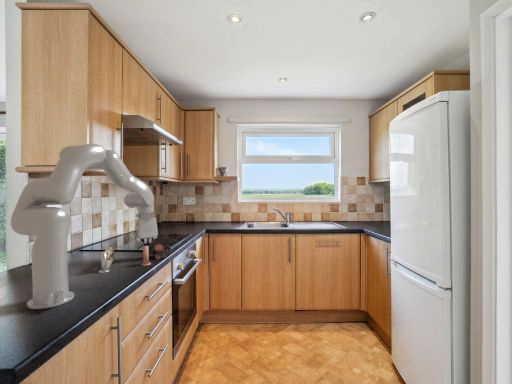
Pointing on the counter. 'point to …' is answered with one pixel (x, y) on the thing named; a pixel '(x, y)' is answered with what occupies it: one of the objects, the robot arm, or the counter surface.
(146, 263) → the post
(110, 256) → the gate
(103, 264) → the clear glass cylinder
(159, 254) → the pottery mug
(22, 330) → the counter surface
